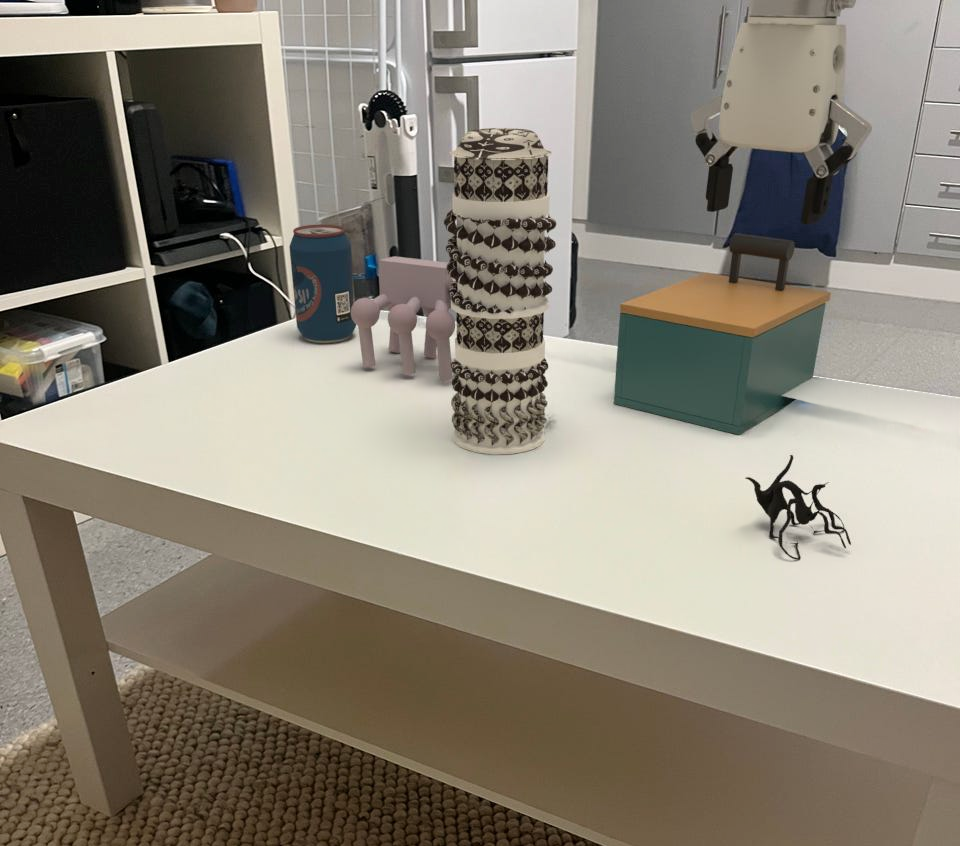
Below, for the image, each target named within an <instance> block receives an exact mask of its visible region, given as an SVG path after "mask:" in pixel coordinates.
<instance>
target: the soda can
mask: <svg viewBox="0 0 960 846" xmlns="http://www.w3.org/2000/svg"><path fill="white" fill-rule="evenodd" d="M345 232H346V230H345V227H344V226H340V225H336V224H306V225H301V226H297V227H295V228H293V230H292V233H293V235H292V238H291V241H290V243H289V247H288V248H289V258H290V267H291V268H290V269H291V278H292V279H291V281H292V289H293V300H294V311H295V323H296V329H297V330H298V331H299V333H300V336H302V337H303V339H304V340H305V341H307V342H309V343H315V344H336V343H342V342H345V341H348V340H349V339H351V337H352V335H353V333H354V332H355V329H356V327H357V325H356V324H355V323H354V321H353V320H352V317H351V308H352V305H353V304H354V303H355V301H356V298H355V286H354V271H353V270H354V269H353V254H352V244H351V242H350V240H349V238H348V237H347V235H346V233H345Z"/></svg>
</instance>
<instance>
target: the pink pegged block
mask: <svg viewBox="0 0 960 846" xmlns="http://www.w3.org/2000/svg"><path fill="white" fill-rule="evenodd" d="M450 259H451V258H450V257H449V260H450ZM448 263H449V262H446V261H437V260H431V259H430V260H429V259H422V258H412V257H406V256H405V257H403V256H396V255H395V256H394V255H393V256H390V257H386V258H382V259H378V279H379V280H378V283H379V284H378V285H379V295H377V296H376V297H375V298H373V299H371V298H368V297H362V298H359V299H357V300H355V303H354V304H353V305H352V308H351V317H352V320H353V321H354V323H355V324H356V326H357V328H358V336H359V344H360V345H359V346H360V352H361V361H362V367H363V368H370V367H374V366H375V365H376V357H375V356H376V355H375V348H374V341H373V340H374V339H373V332H372V327H374V326H375V325H376V324H377V323H378V321H379V319H380V313H381V311H383V310H384V309H387V310H388V311H389V312H388V315H387V324H388V326H389V340H388V351H389V352H391V353H397V354H398V353H399V354H400V361H401V370H402V375H404V376H409V375H412V374H415V373H416V362H415V353H414V344H413V333H412V332H413V331H414V330H415V329H416V328H417V327H416V326H417V324H418V316H417V313H418V312H419V311H420V310H421V311H422V314H423V315H424V316H425V317H426V320H425V334H424V335H425V336H424V348H423V356H424V357H426V358H430V359H436V358H437V365H438V376H439V381H440V382H448V381H449V382H450V381H452V379H453V378H454V377H453V376H454V375H453V371H452V368H451V362H452V352H451V341H450V338H451V337H452V336H453V334H454V333H455V330H456V319H455V317H454V316H453V314H452V313H451V312H449V310H450V309H451V297H450V296H449V290H450V288H451V284H452V283H453V282H455V281H456V280H455V279H454V278H452V277H450V276H449V274H448V270H447V268H446V266H447V264H448Z"/></svg>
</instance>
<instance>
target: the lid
mask: <svg viewBox="0 0 960 846" xmlns="http://www.w3.org/2000/svg"><path fill="white" fill-rule="evenodd" d="M795 245H796V243H795V241H794V240H789V239H783V238H775V237H767V236H759V235H752V234H746V233H745V234H743V233H737V232H736V233H733V234H732V235H731V238H730V239H729V246H728V249H729V252H730V253H731V259H730V267H729V275H723V274H716V273H710V272H704V273H701V274H698V275H695V276H692V277H690V278H687V279H683V280H682V281H679V282H676V283H673V284H671V285H668V286H666V287H662V288H660V289H657V290H654V291H651V292H649V293H646V294H644V295H640V296H638V297H636V298H635V297H634V298H633V299H630V300H627V301H625V302H622V303H620V304H619V305H620V306H619V313H627V314H632V315H637V316H642V317H647V318H653V319H658V320H663V321H668V322H674V323H679V324H684V325H689V326H695V327H700V328H705V329H710V330H716V331H721V332H726V333H731V334H736V335H742V336H747V337H752V338H753V337H755V336H757V335H759V334H762V333H764V332H766V331H768V330H770V329H772V328H774V327H776V326H778V325H780V324H782V323H784V322H786V321H788V320H790V319H793V318H795V317H797V316H799V315H801V314H803V313H805V312H807V311H809V310H811V309H813V308H815V307H817V306H819V305H821V304H824V303H826V304H827V303H828V302H829V301H830V300H831V291H824V290H819V289H818V290H817V289H812V288H806V287H800V286H793V285H787V284H786V282H787V275H788V269H789V262H790V261H791V260H792V259H793V255H794V254H795V253H794V252H795V247H796V246H795ZM742 255H745V256H751V257H759V258H765V259H766V258H767V259H773V260H779V261H778V268H777V275H776V281H775V283H773V282H767V281H760V280H755V279H748V278H742V277H739V275H740V267H741V260H742Z"/></svg>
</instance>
